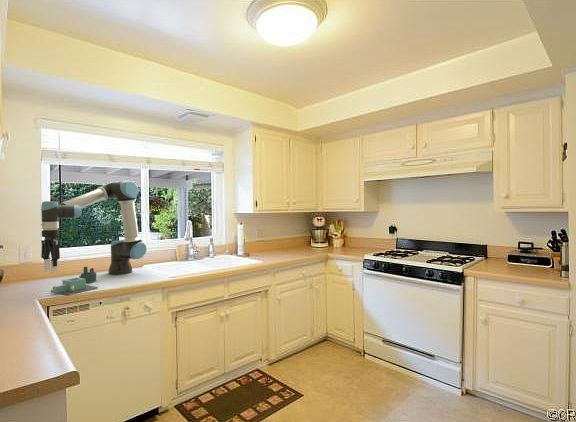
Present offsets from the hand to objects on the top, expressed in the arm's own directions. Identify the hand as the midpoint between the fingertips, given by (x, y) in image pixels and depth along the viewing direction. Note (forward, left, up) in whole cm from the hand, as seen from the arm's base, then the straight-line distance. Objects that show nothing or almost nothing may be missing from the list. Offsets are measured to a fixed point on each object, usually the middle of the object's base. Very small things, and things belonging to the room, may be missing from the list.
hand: (50, 271), depth 175 cm
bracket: (-24, -7, -11) cm, 27 cm away
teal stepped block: (-5, +8, -10) cm, 14 cm away
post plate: (-8, +8, -11) cm, 16 cm away
